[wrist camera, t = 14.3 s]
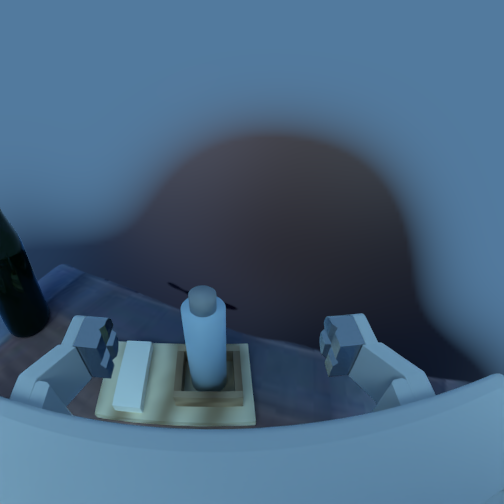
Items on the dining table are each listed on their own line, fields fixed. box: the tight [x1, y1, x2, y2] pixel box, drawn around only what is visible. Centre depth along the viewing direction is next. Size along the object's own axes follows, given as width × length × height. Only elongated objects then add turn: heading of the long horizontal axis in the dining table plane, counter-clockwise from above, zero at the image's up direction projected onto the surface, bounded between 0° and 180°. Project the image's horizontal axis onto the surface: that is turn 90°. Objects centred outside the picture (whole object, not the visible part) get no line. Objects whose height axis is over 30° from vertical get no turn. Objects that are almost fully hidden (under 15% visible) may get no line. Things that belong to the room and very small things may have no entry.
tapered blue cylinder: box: [181, 285, 227, 391], centre depth 36 cm, size 5×5×16 cm
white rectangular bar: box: [112, 340, 153, 413], centre depth 39 cm, size 4×12×2 cm, turn 5°
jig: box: [95, 341, 256, 426], centre depth 40 cm, size 22×14×4 cm, turn 95°
